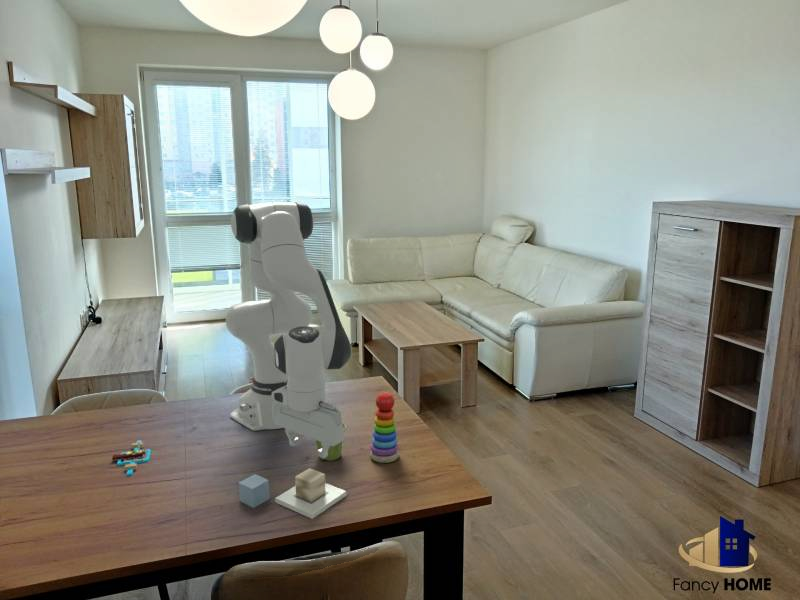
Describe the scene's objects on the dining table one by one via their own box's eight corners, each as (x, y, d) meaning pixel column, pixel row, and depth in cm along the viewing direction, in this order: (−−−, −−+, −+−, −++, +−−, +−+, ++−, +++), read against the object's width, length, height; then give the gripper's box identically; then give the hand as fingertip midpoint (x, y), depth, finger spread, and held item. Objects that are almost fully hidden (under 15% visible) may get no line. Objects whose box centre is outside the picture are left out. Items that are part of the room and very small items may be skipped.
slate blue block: (239, 501, 146) (238, 482, 145) (256, 492, 150) (254, 474, 149) (253, 508, 143) (252, 489, 142) (269, 498, 147) (268, 480, 146)
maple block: (296, 495, 146) (295, 476, 144) (310, 486, 150) (309, 468, 148) (311, 502, 143) (310, 482, 142) (325, 492, 147) (324, 473, 146)
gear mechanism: (106, 480, 157) (145, 475, 159) (104, 461, 155) (143, 456, 158) (119, 446, 175) (153, 442, 178) (117, 429, 174) (152, 425, 177)
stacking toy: (395, 465, 162) (395, 400, 158) (367, 462, 164) (365, 398, 160) (401, 452, 170) (401, 389, 166) (374, 449, 171) (372, 387, 167)
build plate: (275, 502, 145) (275, 497, 145) (310, 481, 155) (310, 476, 154) (312, 518, 138) (312, 513, 138) (346, 495, 148) (346, 490, 148)
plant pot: (319, 467, 162) (318, 437, 160) (308, 452, 170) (306, 423, 168) (352, 459, 166) (351, 430, 164) (339, 445, 174) (338, 417, 172)
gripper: (349, 403, 137) (350, 458, 141) (285, 383, 149) (288, 434, 152) (331, 412, 132) (332, 469, 136) (266, 391, 144) (269, 444, 147)
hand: (308, 450), depth 144 cm, fingers open, 8 cm apart
